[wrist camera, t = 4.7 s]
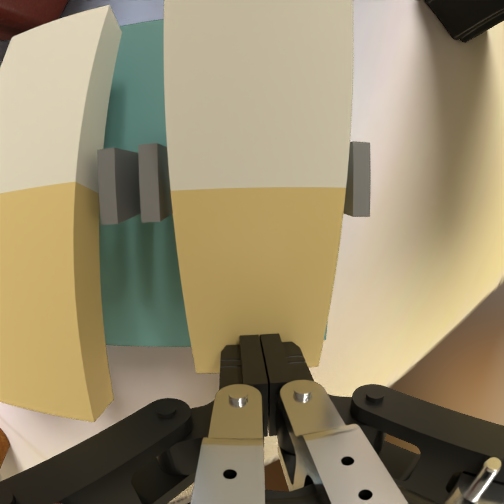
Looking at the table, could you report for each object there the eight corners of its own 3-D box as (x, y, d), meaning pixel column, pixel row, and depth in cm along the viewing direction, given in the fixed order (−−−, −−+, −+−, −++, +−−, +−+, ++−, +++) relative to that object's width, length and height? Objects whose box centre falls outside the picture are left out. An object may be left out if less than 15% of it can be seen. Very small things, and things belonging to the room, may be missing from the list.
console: (-10, 97, 16) (-99, 79, 6) (303, 51, 18) (359, -32, 8) (6, 309, 20) (-69, 368, 10) (305, 309, 22) (356, 404, 12)
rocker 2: (177, -35, 7) (167, -58, 5) (329, -31, 7) (349, -51, 5) (198, 339, 14) (196, 373, 12) (308, 334, 14) (318, 366, 12)
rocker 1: (31, 57, 10) (12, 36, 8) (122, 32, 11) (109, 4, 9) (15, 383, 10) (-12, 398, 8) (114, 399, 10) (94, 422, 8)
